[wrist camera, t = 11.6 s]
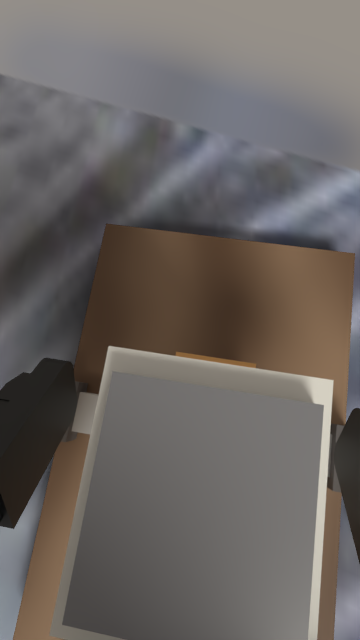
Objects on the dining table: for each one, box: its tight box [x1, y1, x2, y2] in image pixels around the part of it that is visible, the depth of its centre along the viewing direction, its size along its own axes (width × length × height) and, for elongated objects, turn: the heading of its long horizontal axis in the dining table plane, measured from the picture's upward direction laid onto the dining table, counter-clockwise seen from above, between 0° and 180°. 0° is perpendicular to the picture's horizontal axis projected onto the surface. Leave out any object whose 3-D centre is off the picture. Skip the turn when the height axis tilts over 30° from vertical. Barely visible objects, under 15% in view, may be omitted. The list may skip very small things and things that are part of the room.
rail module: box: [49, 346, 333, 640], centre depth 10 cm, size 4×4×10 cm
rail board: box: [13, 224, 355, 640], centre depth 15 cm, size 12×18×3 cm, turn 171°
